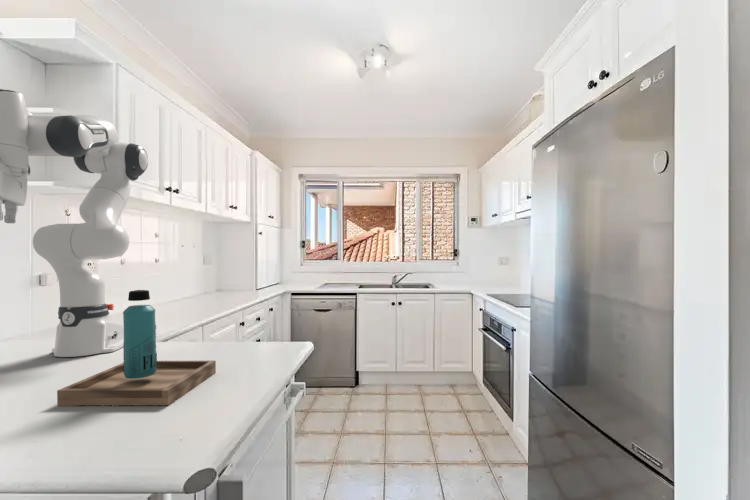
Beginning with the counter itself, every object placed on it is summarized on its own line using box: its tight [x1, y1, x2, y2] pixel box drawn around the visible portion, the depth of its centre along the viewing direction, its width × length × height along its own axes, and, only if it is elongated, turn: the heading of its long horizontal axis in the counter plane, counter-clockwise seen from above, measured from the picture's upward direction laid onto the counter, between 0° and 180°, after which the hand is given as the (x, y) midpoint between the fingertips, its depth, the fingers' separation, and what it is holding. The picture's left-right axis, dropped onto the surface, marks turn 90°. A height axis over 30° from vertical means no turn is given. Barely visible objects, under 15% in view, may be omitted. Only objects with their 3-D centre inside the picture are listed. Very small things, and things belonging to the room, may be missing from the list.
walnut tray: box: [56, 360, 217, 407], centre depth 92 cm, size 22×22×3 cm
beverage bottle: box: [122, 289, 158, 379], centre depth 91 cm, size 6×7×20 cm
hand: (3, 221), depth 94 cm, fingers open, 8 cm apart
